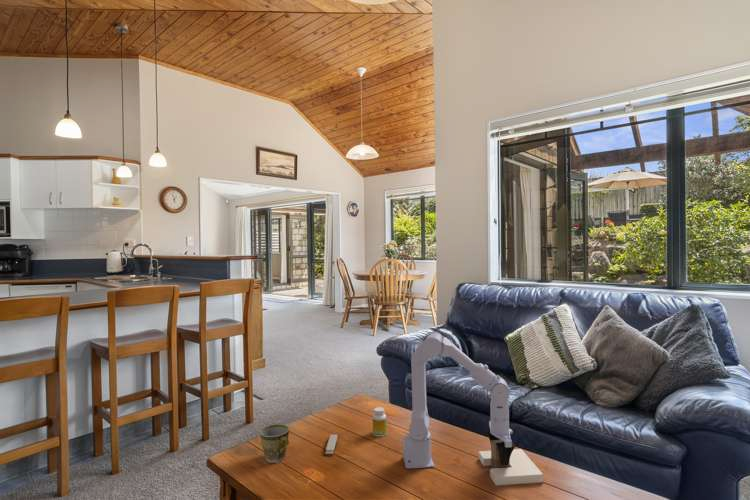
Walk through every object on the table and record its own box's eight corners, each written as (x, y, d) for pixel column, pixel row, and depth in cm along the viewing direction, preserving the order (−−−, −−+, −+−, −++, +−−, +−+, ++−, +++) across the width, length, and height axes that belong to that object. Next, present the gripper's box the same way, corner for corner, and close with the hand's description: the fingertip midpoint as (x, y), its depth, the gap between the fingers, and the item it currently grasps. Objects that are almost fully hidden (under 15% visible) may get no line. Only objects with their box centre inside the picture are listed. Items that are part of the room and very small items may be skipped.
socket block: (495, 485, 125) (495, 477, 125) (479, 458, 141) (478, 451, 140) (543, 482, 126) (543, 474, 126) (521, 456, 142) (521, 448, 142)
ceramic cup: (255, 458, 143) (254, 430, 143) (279, 448, 151) (278, 421, 150) (276, 472, 134) (275, 442, 134) (300, 460, 142) (300, 431, 142)
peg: (496, 474, 131) (496, 446, 131) (491, 467, 135) (491, 440, 135) (509, 473, 131) (509, 446, 131) (504, 466, 135) (504, 439, 135)
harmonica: (330, 437, 159) (330, 432, 159) (338, 437, 159) (338, 432, 159) (324, 457, 144) (324, 451, 144) (333, 457, 144) (333, 451, 144)
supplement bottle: (385, 437, 157) (384, 412, 157) (371, 436, 158) (371, 411, 158) (387, 431, 162) (387, 406, 162) (374, 430, 163) (373, 406, 163)
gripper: (521, 426, 126) (521, 470, 126) (503, 407, 140) (503, 446, 141) (498, 427, 125) (499, 471, 126) (482, 408, 140) (483, 447, 140)
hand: (500, 458), depth 133 cm, fingers open, 7 cm apart
